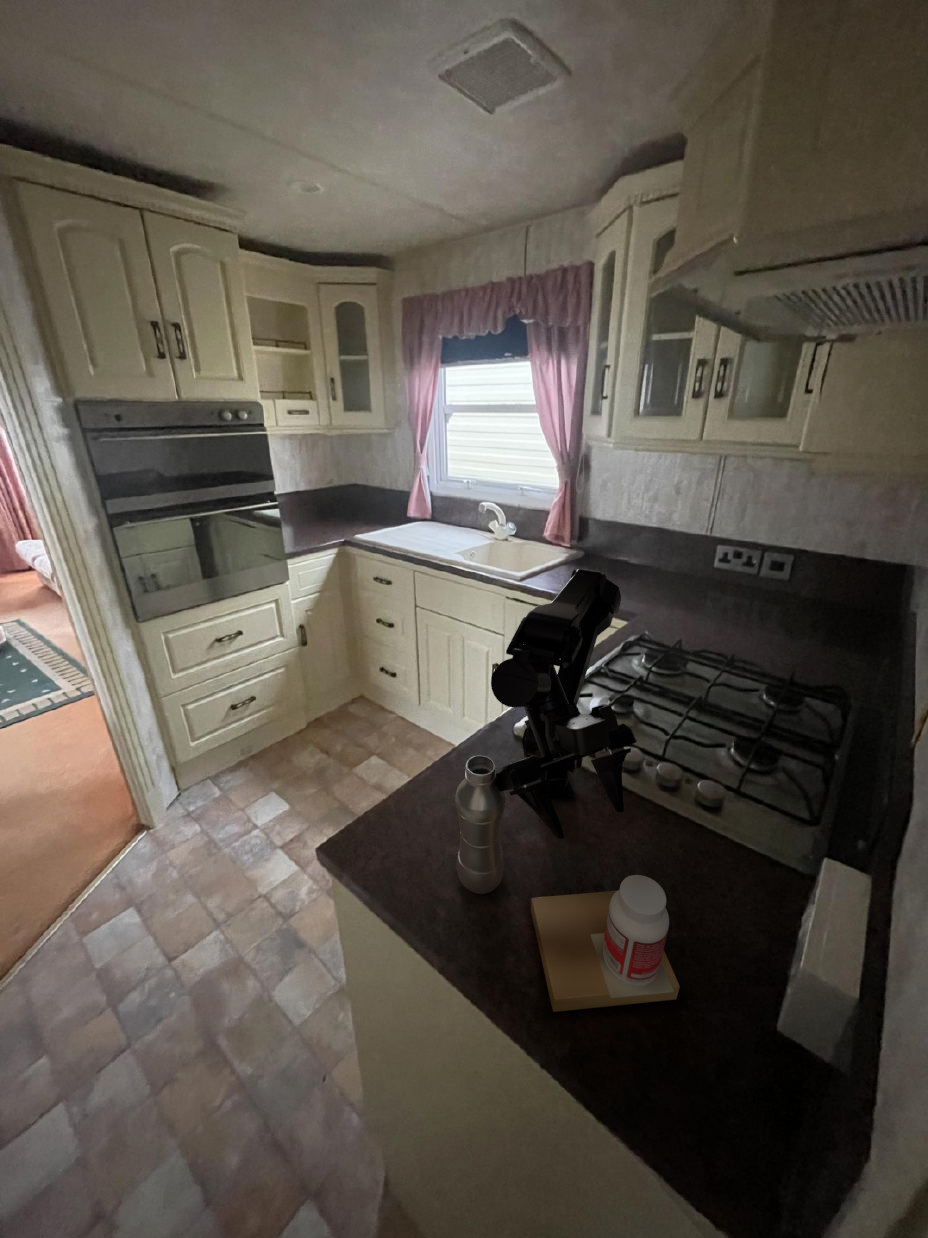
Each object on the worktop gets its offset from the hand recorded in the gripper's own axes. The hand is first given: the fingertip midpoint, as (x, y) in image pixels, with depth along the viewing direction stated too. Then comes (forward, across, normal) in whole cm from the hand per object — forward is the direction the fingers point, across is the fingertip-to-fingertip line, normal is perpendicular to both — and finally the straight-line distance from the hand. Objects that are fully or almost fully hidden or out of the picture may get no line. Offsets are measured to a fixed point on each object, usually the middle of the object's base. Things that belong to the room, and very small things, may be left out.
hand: (591, 824), depth 63 cm
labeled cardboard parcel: (+14, -3, +4) cm, 15 cm away
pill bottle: (+15, -2, 0) cm, 15 cm away
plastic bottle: (+3, -11, +15) cm, 19 cm away
